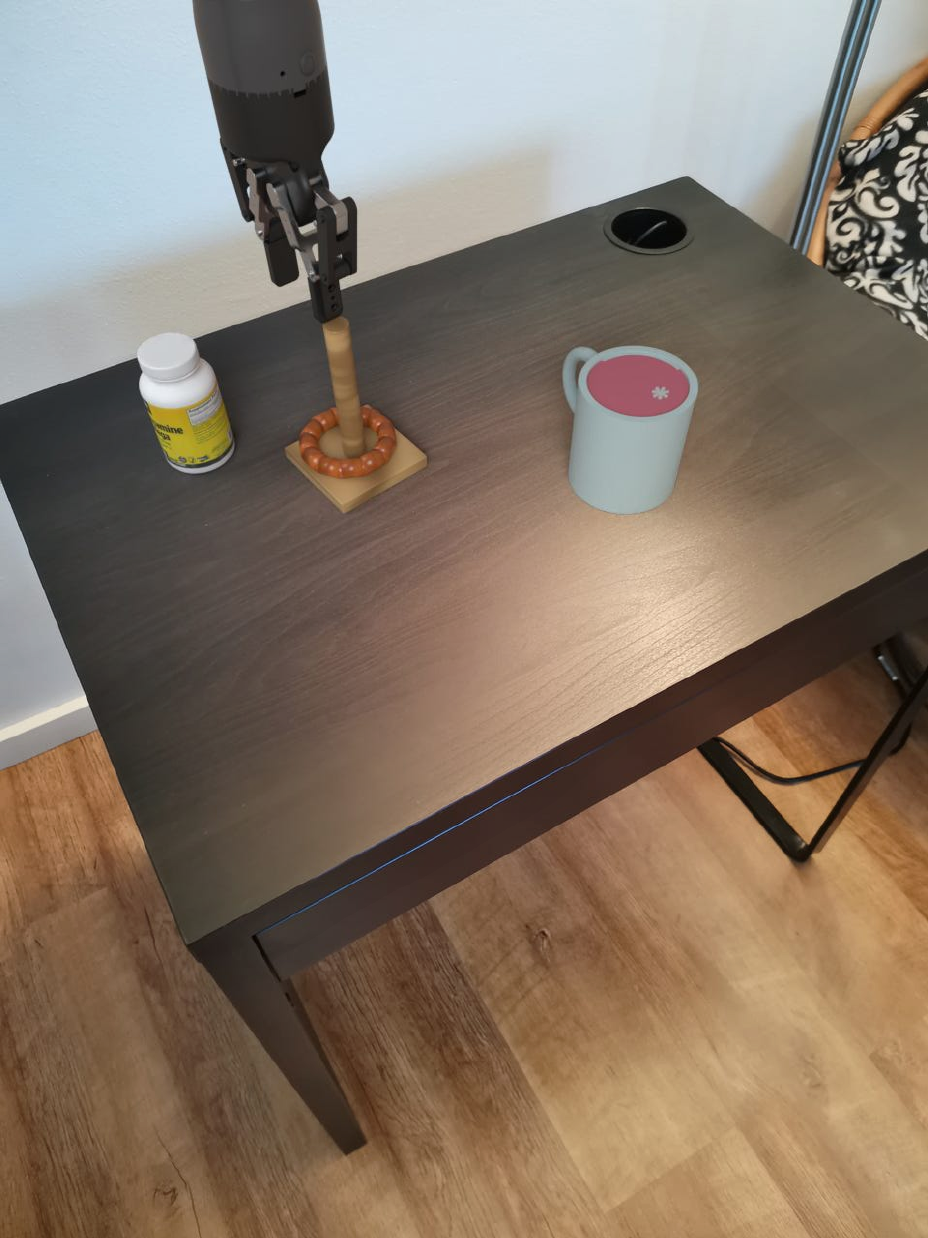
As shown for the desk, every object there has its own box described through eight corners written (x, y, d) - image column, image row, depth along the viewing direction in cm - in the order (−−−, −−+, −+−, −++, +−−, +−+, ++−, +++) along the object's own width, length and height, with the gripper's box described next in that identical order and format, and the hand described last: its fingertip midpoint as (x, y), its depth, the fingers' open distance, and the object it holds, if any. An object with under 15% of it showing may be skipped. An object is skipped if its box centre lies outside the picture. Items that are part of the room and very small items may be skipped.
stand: (344, 514, 74) (319, 378, 63) (286, 457, 79) (253, 319, 67) (428, 465, 78) (419, 328, 66) (368, 413, 82) (350, 275, 70)
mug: (697, 487, 76) (723, 394, 68) (609, 529, 73) (625, 438, 65) (602, 397, 83) (615, 304, 75) (519, 433, 80) (523, 340, 72)
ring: (338, 496, 74) (335, 483, 73) (282, 444, 78) (279, 431, 77) (416, 450, 77) (414, 436, 76) (358, 402, 81) (356, 388, 80)
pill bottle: (152, 453, 79) (110, 351, 70) (208, 419, 82) (174, 316, 73) (194, 487, 77) (156, 385, 68) (250, 450, 79) (221, 347, 70)
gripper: (155, 38, 57) (218, 276, 70) (276, 120, 50) (319, 365, 64) (256, 7, 59) (297, 242, 73) (382, 81, 53) (402, 323, 66)
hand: (307, 298), depth 68 cm, fingers open, 5 cm apart
